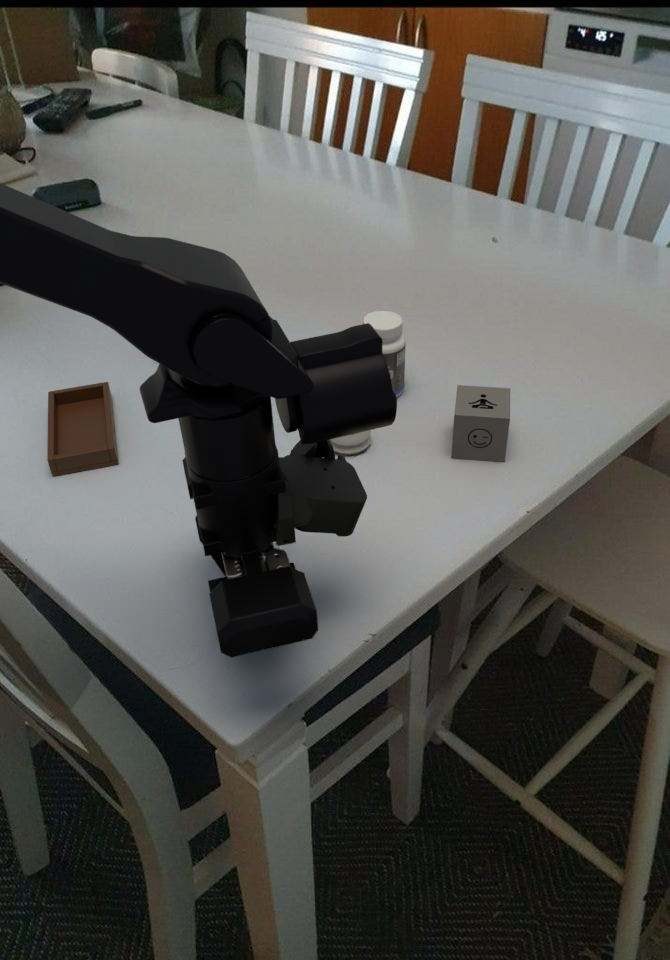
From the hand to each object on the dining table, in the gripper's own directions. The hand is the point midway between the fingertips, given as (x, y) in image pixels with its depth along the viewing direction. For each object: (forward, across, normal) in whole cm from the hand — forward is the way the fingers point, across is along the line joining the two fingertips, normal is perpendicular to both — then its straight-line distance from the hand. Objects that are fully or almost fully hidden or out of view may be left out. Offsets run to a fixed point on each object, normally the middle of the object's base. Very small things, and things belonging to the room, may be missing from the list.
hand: (255, 615), depth 61 cm
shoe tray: (+1, +30, +12) cm, 32 cm away
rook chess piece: (+1, +20, -13) cm, 24 cm away
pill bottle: (+1, +28, -19) cm, 34 cm away
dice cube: (+1, +16, -25) cm, 30 cm away
